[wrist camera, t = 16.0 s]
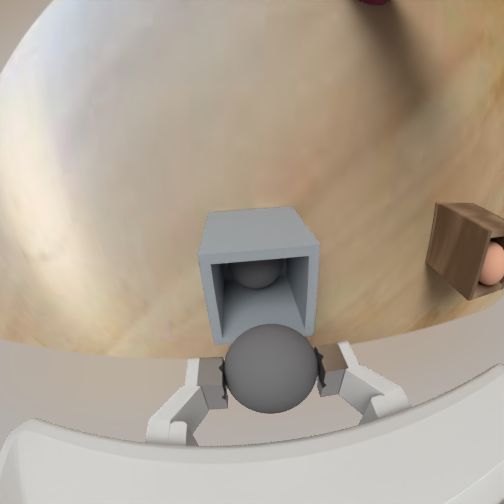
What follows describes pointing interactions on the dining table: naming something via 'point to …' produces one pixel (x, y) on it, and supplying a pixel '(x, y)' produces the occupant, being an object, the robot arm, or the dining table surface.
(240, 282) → the charcoal ball
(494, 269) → the terracotta ball
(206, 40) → the dining table surface
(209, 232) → the grey square open box
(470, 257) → the walnut tube
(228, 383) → the charcoal ball
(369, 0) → the cup
